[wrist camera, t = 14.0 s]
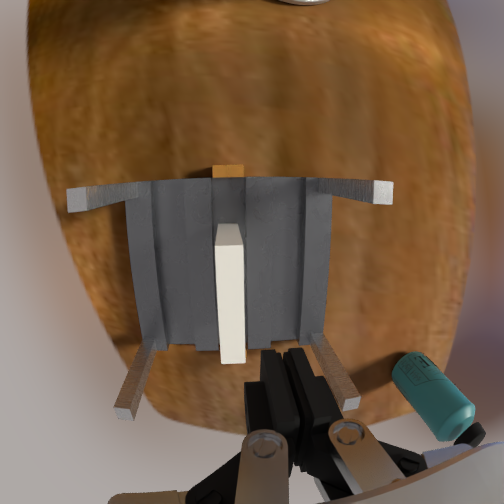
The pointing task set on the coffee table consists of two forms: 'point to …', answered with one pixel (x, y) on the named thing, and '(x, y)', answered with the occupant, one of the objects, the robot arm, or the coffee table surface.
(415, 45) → the coffee table surface
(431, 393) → the beverage bottle
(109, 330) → the coffee table surface
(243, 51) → the coffee table surface
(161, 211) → the rack
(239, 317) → the block
